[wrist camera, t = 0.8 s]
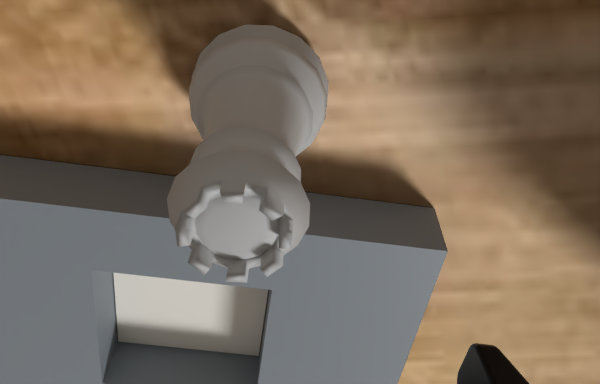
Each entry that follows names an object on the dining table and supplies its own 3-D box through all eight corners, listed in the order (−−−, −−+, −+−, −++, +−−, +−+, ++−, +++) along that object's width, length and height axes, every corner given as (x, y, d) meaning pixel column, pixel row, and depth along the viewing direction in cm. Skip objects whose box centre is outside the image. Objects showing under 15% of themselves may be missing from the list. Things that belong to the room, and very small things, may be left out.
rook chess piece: (186, 130, 20) (123, 294, 13) (202, 3, 17) (135, 127, 10) (310, 155, 20) (311, 326, 13) (344, 36, 18) (364, 174, 11)
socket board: (434, 208, 21) (447, 251, 19) (369, 399, 28) (373, 446, 26) (-55, 147, 20) (-97, 187, 18) (0, 362, 27) (-26, 408, 25)
